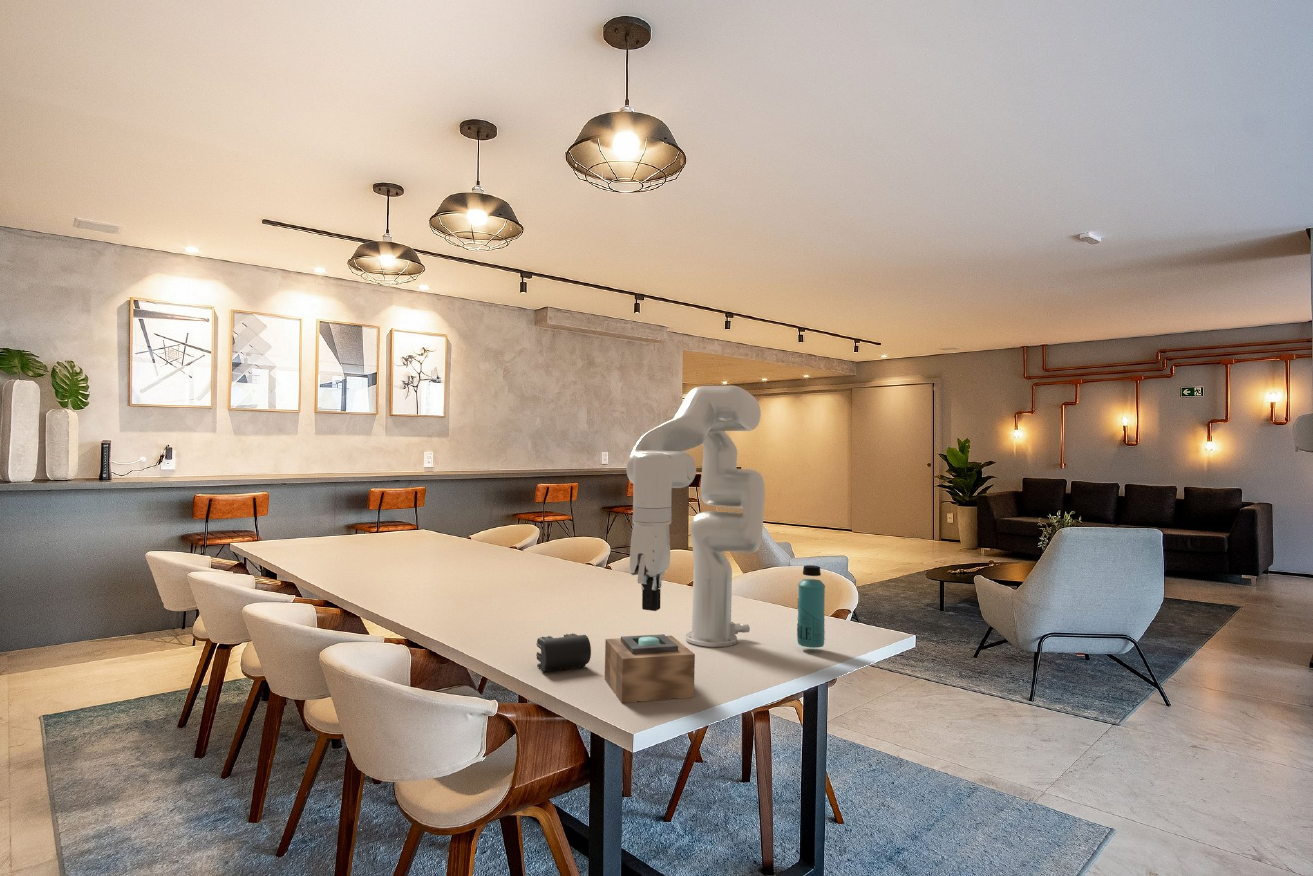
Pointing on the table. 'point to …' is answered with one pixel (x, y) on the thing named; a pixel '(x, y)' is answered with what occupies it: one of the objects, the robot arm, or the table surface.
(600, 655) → the table surface
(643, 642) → the peg
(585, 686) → the table surface
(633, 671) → the socket block
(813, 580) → the beverage bottle
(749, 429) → the robot arm
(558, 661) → the end cap
